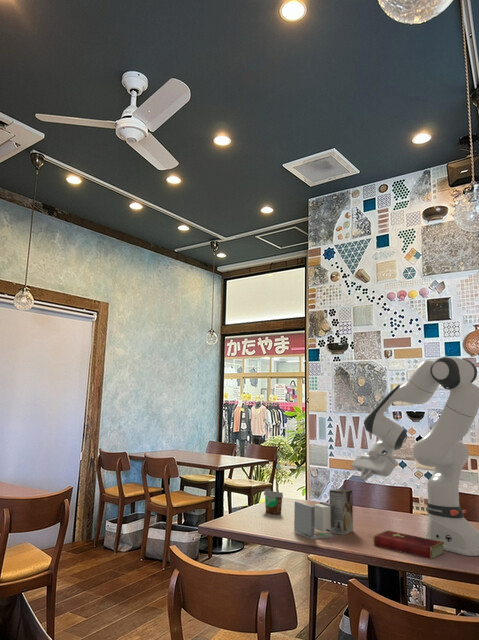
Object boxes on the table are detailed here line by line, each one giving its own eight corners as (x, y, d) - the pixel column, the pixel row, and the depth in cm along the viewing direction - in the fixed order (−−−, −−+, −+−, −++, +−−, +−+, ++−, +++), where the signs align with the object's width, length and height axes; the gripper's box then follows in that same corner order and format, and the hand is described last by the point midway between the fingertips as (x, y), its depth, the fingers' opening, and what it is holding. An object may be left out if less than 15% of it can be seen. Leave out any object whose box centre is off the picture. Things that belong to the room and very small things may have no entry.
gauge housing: (333, 536, 175) (333, 505, 178) (311, 539, 171) (311, 506, 173) (315, 530, 185) (315, 500, 187) (294, 532, 180) (294, 501, 183)
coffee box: (338, 528, 190) (338, 488, 193) (353, 531, 186) (353, 490, 189) (329, 532, 183) (329, 490, 186) (343, 535, 179) (343, 492, 182)
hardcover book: (431, 560, 152) (431, 547, 153) (373, 546, 166) (373, 534, 167) (444, 554, 161) (444, 541, 161) (388, 541, 175) (388, 529, 176)
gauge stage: (336, 531, 177) (336, 506, 179) (325, 532, 175) (325, 506, 177) (321, 526, 185) (322, 502, 187) (311, 527, 183) (311, 502, 185)
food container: (258, 510, 219) (259, 488, 221) (269, 510, 222) (270, 488, 224) (271, 516, 208) (271, 493, 210) (282, 515, 211) (283, 492, 213)
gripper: (358, 448, 209) (342, 470, 203) (392, 452, 191) (375, 477, 185) (366, 458, 210) (350, 480, 204) (400, 463, 192) (384, 488, 186)
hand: (362, 479), depth 194 cm, fingers closed
